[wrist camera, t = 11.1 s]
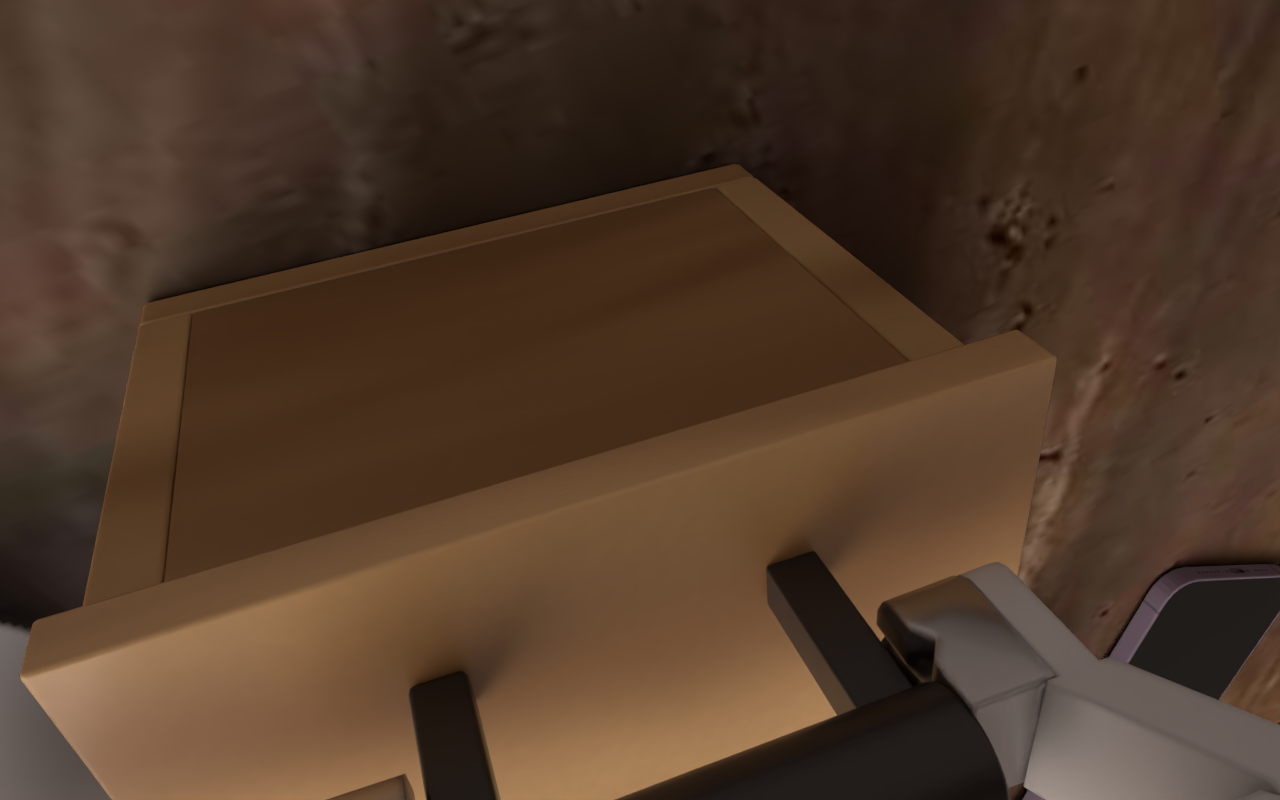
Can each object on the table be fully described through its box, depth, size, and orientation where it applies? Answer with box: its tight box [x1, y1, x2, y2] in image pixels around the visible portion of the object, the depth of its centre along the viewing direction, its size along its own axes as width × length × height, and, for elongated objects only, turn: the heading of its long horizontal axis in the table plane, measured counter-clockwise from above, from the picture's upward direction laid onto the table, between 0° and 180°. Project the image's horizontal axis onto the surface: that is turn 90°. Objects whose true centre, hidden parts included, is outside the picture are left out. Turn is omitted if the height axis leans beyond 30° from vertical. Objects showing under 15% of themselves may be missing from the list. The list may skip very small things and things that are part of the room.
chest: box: [83, 164, 964, 606], centre depth 19 cm, size 14×12×9 cm
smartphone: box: [1022, 564, 1280, 800], centre depth 38 cm, size 7×1×15 cm
